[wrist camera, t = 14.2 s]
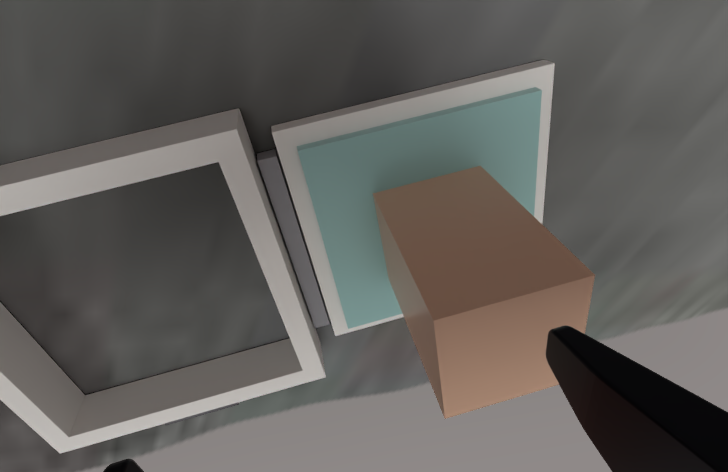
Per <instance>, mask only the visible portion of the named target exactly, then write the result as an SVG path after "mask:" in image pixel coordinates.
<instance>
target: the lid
mask: <svg viewBox="0 0 728 472" xmlns="http://www.w3.org/2000/svg"><path fill="white" fill-rule="evenodd" d="M554 65H555V63H552V62H550V61H547V60H540V61H536V62H532V63H527V64H523V65H519V66H515V67H511V68H507V69H503V70H499V71H495V72H490V73H486V74H482V75H478V76H474V77H470V78H466V79H462V80H458V81H454V82H449V83H445V84H441V85H437V86H433V87H429V88H425V89H421V90H417V91H413V92H408V93H404V94H400V95H396V96H392V97H388V98H384V99H380V100H376V101H372V102H367V103H363V104H359V105H355V106H351V107H347V108H343V109H339V110H335V111H331V112H326V113H322V114H318V115H314V116H310V117H306V118H302V119H298V120H294V121H290V122H285V123H281V124H277V125H273V126H271V130H272V135H273V138H274V142H275V145H276V148H277V151H278V154H279V158H280V161H281V164H282V167H283V170H284V173H283V170H282V167H281V164H280V161H279V158H278V154H277V151H276V149H273V150H269V151H265V152H261V153H257V162H258V164H259V167H260V170H261V173H262V176H263V179H264V182H265V185H266V188H267V190H268V193H269V196H270V199H271V202H272V205H273V208H274V211H275V213H276V216H277V219H278V222H279V225H280V228H281V231H282V234H283V237H284V239H285V242H286V245H287V248H288V251H289V254H290V257H291V260H292V262H293V265H294V268H295V271H296V274H297V277H298V280H299V283H300V285H301V288H302V291H303V294H304V297H305V300H306V303H307V306H308V309H309V311H310V314H311V317H312V320H313V323H314V326H315V328H318V327H322V326H325V325H329V324H330V323H329V318H328V314H329V317H330V320H331V324H332V327H333V330H334V333H335V336H338V335H341V334H345V333H349V332H352V331H356V330H359V329H363V328H366V327H370V326H373V325H377V324H381V323H384V322H388V321H391V320H395V319H398V318H402V317H404V316H403V313H402V311H401V308H400V306H399V303H398V301H397V298H396V296H395V293H394V291H393V288H392V286H391V283H390V281H389V278H388V273H387V267H386V262H385V257H384V251H383V246H382V241H381V235H380V230H379V225H378V219H377V214H376V209H375V203H374V198H373V193H377V192H380V191H384V190H388V189H392V188H396V187H400V186H404V185H407V184H411V183H415V182H419V181H423V180H427V179H431V178H435V177H438V176H442V175H446V174H450V173H454V172H458V171H462V170H465V169H469V168H473V167H477V166H481V167H482V168H483V169H485V170H486V171H487V172H488V173H489V174H490V175H491V176H492V177H493V178H494V179H495V180H496V181H497V182H498V183H499V184H500V185H501V186H502V187H503V188H504V189H505V190H506V191H508V192H509V193H510V194H511V195H512V196H513V197H514V198H515V199H516V200H517V201H518V202H519V203H520V204H521V205H522V206H523V207H524V208H525V209H526V210H527V211H528V212H530V213H531V214H532V215H533V216H534V217H535V218H536V219H537V220H538V221H539V222H540V223H541V224H542V222H543V209H544V196H545V183H546V170H547V156H548V143H549V130H550V117H551V104H552V91H553V78H554ZM284 174H285V177H286V180H287V183H288V186H289V189H288V186H287V183H286V180H285V177H284ZM289 190H290V192H289ZM290 193H291V196H292V199H293V202H294V205H293V202H292V199H291V196H290ZM294 206H295V208H294ZM295 209H296V212H297V215H298V218H299V221H300V224H299V221H298V218H297V215H296V212H295ZM300 225H301V227H300ZM301 228H302V231H303V234H304V237H305V240H304V237H303V234H302V231H301ZM305 241H306V243H305ZM306 244H307V247H308V250H309V253H310V256H309V253H308V250H307V247H306ZM310 257H311V259H310ZM311 260H312V262H311ZM312 263H313V266H314V269H315V272H314V269H313V266H312ZM315 273H316V275H315ZM316 276H317V278H316ZM317 279H318V282H319V285H320V288H319V285H318V282H317ZM320 289H321V291H320ZM321 292H322V294H321ZM322 295H323V297H322ZM323 298H324V301H325V304H324V301H323ZM325 305H326V307H325ZM326 308H327V310H326ZM327 311H328V313H327Z"/></svg>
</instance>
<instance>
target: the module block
mask: <svg viewBox="0 0 728 472" xmlns="http://www.w3.org/2000/svg"><path fill="white" fill-rule="evenodd" d="M373 198H374V203H375V209H376V214H377V219H378V225H379V230H380V235H381V241H382V246H383V251H384V257H385V262H386V267H387V273H388V278H389V281H390V283H391V286H392V288H393V291H394V293H395V296H396V298H397V301H398V303H399V306H400V308H401V311H402V313H403V316H404V318H405V321H406V323H407V326H408V328H409V331H410V333H411V336H412V338H413V341H414V343H415V346H416V348H417V351H418V353H419V356H420V358H421V361H422V363H423V365H424V368H425V370H426V373H427V375H428V378H429V380H430V383H431V385H432V388H433V390H434V393H435V395H436V398H437V400H438V403H439V405H440V408H441V410H442V413H443V415H444V418H445V419H446V418H449V417H453V416H456V415H459V414H462V413H466V412H469V411H473V410H476V409H479V408H483V407H486V406H489V405H493V404H496V403H499V402H503V401H506V400H509V399H512V398H516V397H519V396H523V395H526V394H529V393H533V392H535V391H539V390H543V389H546V388H549V387H552V386H556V385H559V383H558V381H557V379H556V377H555V376H554V374H553V372H552V370H551V368H550V366H549V364H548V362H547V359H546V346H547V338H548V332H549V331H550V330H551V329H554V328H557V327H561V326H565V325H566V326H570V327H573V328H574V329H576V330H578V331H580V332H582V333H584V334H585V329H586V323H587V318H588V312H589V306H590V301H591V295H592V289H593V284H594V278H595V275H594V274H593V273H592V272H591V271H590V270H589V269H588V268H587V267H586V266H585V265H584V264H583V263H582V262H581V261H580V260H579V259H578V258H577V257H576V256H575V255H573V254H572V253H571V252H570V251H569V250H568V249H567V248H566V247H565V246H564V245H563V244H562V243H561V242H560V241H559V240H558V239H557V238H556V237H555V236H554V235H553V234H551V233H550V232H549V231H548V230H547V229H546V228H545V227H544V226H543V225H542V224H541V223H540V222H539V221H538V220H537V219H536V218H535V217H534V216H533V215H532V214H531V213H530V212H528V211H527V210H526V209H525V208H524V207H523V206H522V205H521V204H520V203H519V202H518V201H517V200H516V199H515V198H514V197H513V196H512V195H511V194H510V193H509V192H508V191H506V190H505V189H504V188H503V187H502V186H501V185H500V184H499V183H498V182H497V181H496V180H495V179H494V178H493V177H492V176H491V175H490V174H489V173H488V172H487V171H486V170H485V169H483V168H482V167H481V166H477V167H473V168H469V169H465V170H462V171H458V172H454V173H450V174H446V175H442V176H438V177H435V178H431V179H427V180H423V181H419V182H415V183H411V184H407V185H404V186H400V187H396V188H392V189H388V190H384V191H380V192H377V193H373Z"/></svg>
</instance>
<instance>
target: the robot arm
mask: <svg viewBox="0 0 728 472" xmlns="http://www.w3.org/2000/svg"><path fill="white" fill-rule="evenodd" d="M546 359H547V362H548V364H549V366H550V368H551V370H552V372H553V374H554V376H555V377H556V379H557V381H558V383H559V385H560V387H561V388H562V390H563V392H564V394H565V396H566V398H567V400H568V401H569V403H570V405H571V407H572V409H573V411H574V413H575V414H576V416H577V418H578V420H579V422H580V423H581V425H582V427H583V429H584V430H585V432H586V433H587V435H588V436H589V438H590V439H591V441H592V442H593V444H594V445H595V447H596V448H597V450H598V451H599V453H600V454H601V456H602V457H603V459H604V460H605V461H606V463H607V464H608V466H609V467H610V469H611V470H612V472H728V412H726V411H724V410H722V409H721V408H719V407H717V406H715V405H713V404H712V403H710V402H708V401H706V400H704V399H702V398H701V397H699V396H697V395H695V394H693V393H691V392H690V391H688V390H686V389H684V388H682V387H681V386H679V385H677V384H675V383H673V382H671V381H670V380H668V379H666V378H664V377H662V376H660V375H659V374H657V373H655V372H653V371H651V370H649V369H648V368H646V367H644V366H642V365H640V364H638V363H637V362H635V361H633V360H631V359H629V358H627V357H626V356H624V355H622V354H620V353H618V352H616V351H615V350H613V349H611V348H609V347H607V346H605V345H604V344H602V343H600V342H598V341H596V340H595V339H593V338H591V337H589V336H587V335H585V334H584V333H582V332H580V331H578V330H576V329H574V328H573V327H570V326H566V325H565V326H561V327H557V328H554V329H551V330H550V331H549V332H548V338H547V346H546ZM103 472H144V471H143V470H142V469H141V468H140V467H139V466H138V465H137V463H136V462H135V461H134V460H132V459H125V460H122V461H119V462H115V463H112V464H110V465H109V466H108V467H107V468H106V469H105V470H104V471H103Z"/></svg>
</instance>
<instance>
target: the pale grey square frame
mask: <svg viewBox="0 0 728 472" xmlns="http://www.w3.org/2000/svg"><path fill="white" fill-rule="evenodd" d="M217 162H219V164H220V167H221V169H222V172H223V174H224V177H225V179H226V181H227V184H228V186H229V189H230V191H231V194H232V196H233V199H234V201H235V204H236V206H237V209H238V211H239V214H240V216H241V219H242V221H243V224H244V226H245V228H246V231H247V233H248V236H249V238H250V241H251V243H252V246H253V248H254V251H255V253H256V256H257V258H258V261H259V263H260V266H261V268H262V271H263V273H264V276H265V278H266V280H267V283H268V285H269V288H270V290H271V293H272V295H273V298H274V300H275V303H276V305H277V308H278V310H279V313H280V315H281V318H282V320H283V323H284V325H285V327H286V330H287V332H288V335H289V337H290V338H289V339H285V340H281V341H278V342H274V343H271V344H267V345H263V346H260V347H256V348H253V349H249V350H246V351H242V352H238V353H235V354H231V355H228V356H224V357H221V358H217V359H213V360H210V361H206V362H203V363H199V364H196V365H192V366H188V367H185V368H181V369H178V370H174V371H170V372H167V373H163V374H160V375H156V376H153V377H149V378H145V379H142V380H138V381H135V382H131V383H128V384H124V385H120V386H117V387H113V388H110V389H106V390H103V391H99V392H95V393H92V394H88V395H84V394H83V392H82V391H81V390H80V389H79V388H78V387H77V386H76V385H75V384H74V383H73V381H72V380H71V379H70V378H69V377H68V376H67V375H66V374H65V373H64V372H63V370H62V369H61V368H60V367H59V366H58V365H57V364H56V363H55V362H54V361H53V359H52V358H51V357H50V356H49V355H48V354H47V353H46V352H45V351H44V350H43V348H42V347H41V346H40V345H39V344H38V343H37V342H36V341H35V340H34V339H33V337H32V336H31V335H30V334H29V333H28V332H27V331H26V330H25V329H24V328H23V326H22V325H21V324H20V323H19V322H18V321H17V320H16V319H15V318H14V317H13V315H12V314H11V313H10V312H9V311H8V310H7V309H6V308H5V307H4V306H3V304H2V303H1V302H0V400H1V401H2V402H3V403H5V404H6V405H7V406H8V407H9V408H10V409H11V410H12V411H13V412H14V413H16V414H17V415H18V416H19V417H20V418H21V419H22V420H23V421H24V422H26V423H27V424H28V425H29V426H30V427H31V428H32V429H33V430H34V431H36V432H37V433H38V434H39V435H40V436H41V437H42V438H43V439H44V440H46V441H47V442H48V443H49V444H50V445H51V446H52V447H53V448H54V449H56V450H57V451H58V452H59V453H64V452H67V451H71V450H74V449H78V448H81V447H85V446H88V445H91V444H95V443H98V442H102V441H105V440H109V439H112V438H116V437H119V436H123V435H126V434H130V433H133V432H137V431H140V430H144V429H147V428H151V427H154V426H158V425H161V424H164V423H165V425H169V424H173V423H176V422H179V421H183V420H186V419H190V418H193V417H197V416H200V415H204V414H207V413H211V412H214V411H218V410H221V409H225V408H228V407H232V406H235V405H238V404H239V402H241V401H244V400H248V399H251V398H255V397H258V396H262V395H265V394H269V393H272V392H276V391H279V390H283V389H286V388H290V387H293V386H297V385H300V384H304V383H307V382H310V381H314V380H317V379H321V378H324V377H326V375H325V368H324V362H323V356H322V350H321V344H320V340H319V337H318V334H317V331H316V329H315V326H314V323H313V320H312V317H311V314H310V311H309V309H308V306H307V303H306V300H305V297H304V294H303V291H302V288H301V285H300V283H299V280H298V277H297V274H296V271H295V268H294V265H293V262H292V260H291V257H290V254H289V251H288V248H287V245H286V242H285V239H284V237H283V234H282V231H281V228H280V225H279V222H278V219H277V216H276V213H275V211H274V208H273V205H272V202H271V199H270V196H269V193H268V190H267V188H266V185H265V182H264V179H263V176H262V173H261V170H260V167H259V164H258V162H257V159H256V156H255V153H254V150H253V147H252V144H251V141H250V138H249V135H248V133H247V130H246V127H245V124H244V121H243V118H242V115H241V112H240V110H239V108H237V109H233V110H229V111H225V112H220V113H216V114H212V115H208V116H204V117H200V118H195V119H191V120H187V121H183V122H179V123H175V124H170V125H166V126H162V127H158V128H154V129H150V130H145V131H141V132H137V133H133V134H129V135H124V136H120V137H116V138H112V139H108V140H104V141H99V142H95V143H91V144H87V145H83V146H79V147H74V148H70V149H66V150H62V151H58V152H54V153H49V154H45V155H41V156H37V157H33V158H29V159H24V160H20V161H16V162H12V163H8V164H3V165H0V216H3V215H7V214H11V213H15V212H19V211H23V210H27V209H31V208H35V207H39V206H43V205H47V204H51V203H55V202H59V201H63V200H67V199H71V198H75V197H79V196H83V195H87V194H92V193H96V192H100V191H104V190H108V189H112V188H116V187H120V186H124V185H128V184H132V183H136V182H140V181H144V180H148V179H152V178H156V177H160V176H164V175H168V174H172V173H176V172H180V171H184V170H188V169H192V168H197V167H201V166H205V165H209V164H213V163H217Z"/></svg>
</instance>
